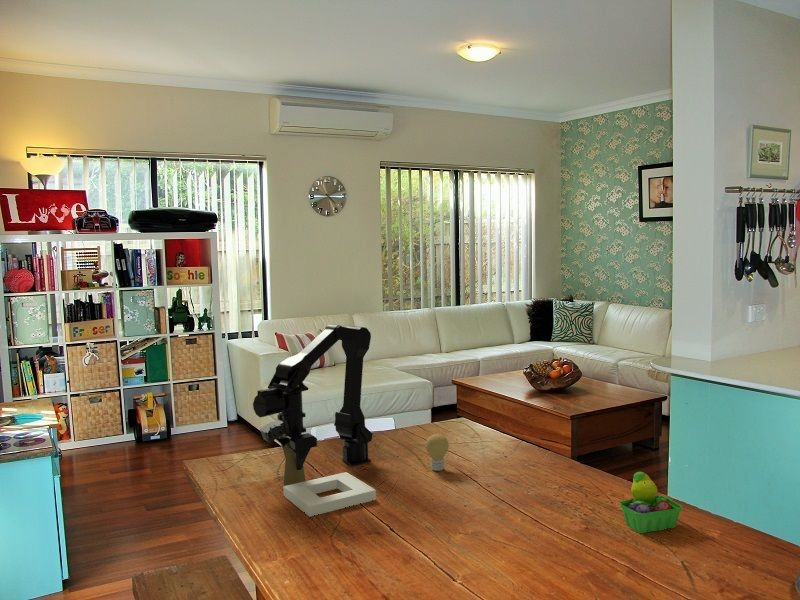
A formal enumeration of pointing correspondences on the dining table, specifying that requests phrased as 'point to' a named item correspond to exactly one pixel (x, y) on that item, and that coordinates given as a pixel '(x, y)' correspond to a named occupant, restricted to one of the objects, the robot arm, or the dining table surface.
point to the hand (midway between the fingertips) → (294, 466)
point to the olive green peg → (292, 468)
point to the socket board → (314, 505)
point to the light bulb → (437, 450)
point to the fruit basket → (649, 507)
